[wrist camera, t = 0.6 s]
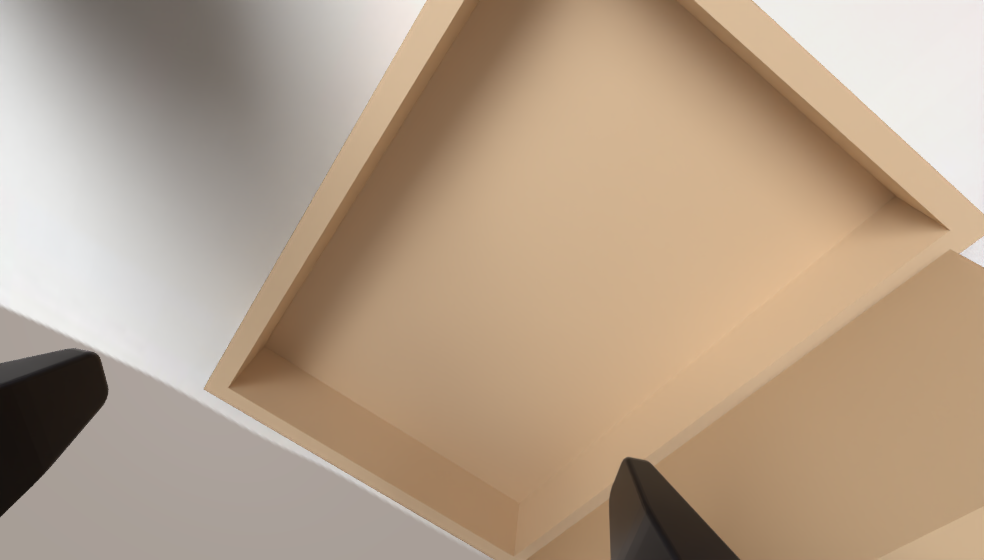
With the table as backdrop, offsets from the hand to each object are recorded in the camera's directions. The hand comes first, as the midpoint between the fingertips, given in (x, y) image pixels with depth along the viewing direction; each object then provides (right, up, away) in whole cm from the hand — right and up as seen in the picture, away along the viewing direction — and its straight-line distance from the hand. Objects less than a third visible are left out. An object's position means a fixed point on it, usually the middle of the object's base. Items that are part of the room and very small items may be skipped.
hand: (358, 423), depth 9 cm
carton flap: (+9, -4, +10) cm, 14 cm away
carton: (+4, +3, +12) cm, 13 cm away
